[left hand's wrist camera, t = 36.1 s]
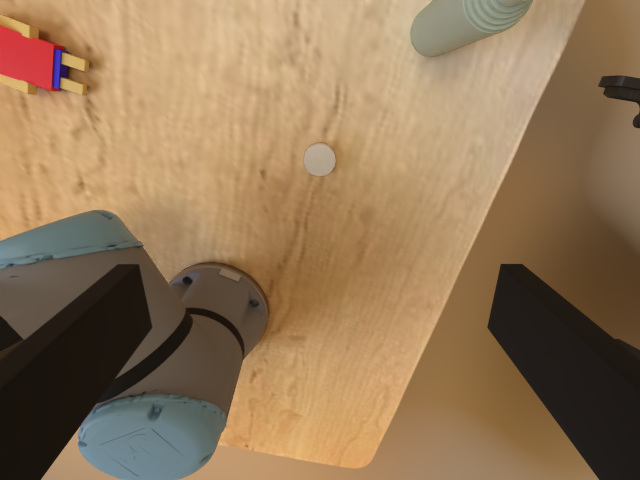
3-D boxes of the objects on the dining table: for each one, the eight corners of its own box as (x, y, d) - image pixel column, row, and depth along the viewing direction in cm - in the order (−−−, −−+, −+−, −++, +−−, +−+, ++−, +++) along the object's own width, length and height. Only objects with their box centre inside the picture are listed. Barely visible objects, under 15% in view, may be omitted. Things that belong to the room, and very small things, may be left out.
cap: (340, 149, 43) (340, 151, 41) (327, 178, 44) (327, 181, 43) (311, 137, 43) (310, 138, 41) (299, 166, 44) (298, 169, 42)
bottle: (423, 66, 40) (512, 37, 21) (402, 23, 38) (479, -47, 20) (463, 39, 39) (593, -16, 20) (444, -6, 37) (566, -109, 19)
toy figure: (82, 44, 37) (-46, -1, 35) (77, 109, 39) (-44, 71, 37) (94, 47, 39) (-26, 4, 37) (89, 108, 42) (-24, 72, 40)
